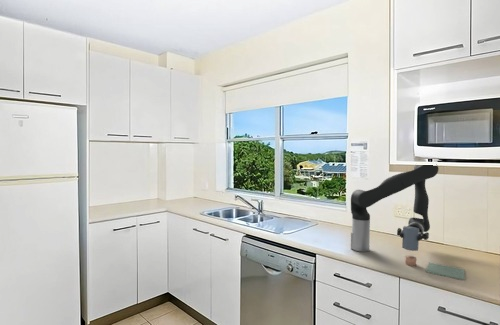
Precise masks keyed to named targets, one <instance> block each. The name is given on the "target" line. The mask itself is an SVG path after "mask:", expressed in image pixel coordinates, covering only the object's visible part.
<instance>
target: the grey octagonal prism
mask: <svg viewBox="0 0 500 325" xmlns="http://www.w3.org/2000/svg"><path fill="white" fill-rule="evenodd" d="M402 230H403V238H402V247H401V248H402V249H404V250H407V251H412V252H416V251H419V244H420V243H419V242H420V241H418V235H419V228H416V227H411V226H408V225H404V226H403V227H402Z"/></svg>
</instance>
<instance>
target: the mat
mask: <svg viewBox="0 0 500 325" xmlns="http://www.w3.org/2000/svg"><path fill="white" fill-rule="evenodd" d="M427 264H428V265H427V266H426V270H425V273H427V274H433V275H439V276H443V277H447V278H451V279H455V280H456V279H457V280H460V281H465V274H466V273H465V269H464V268H460V267H459V268H458V267H455V266H450V265H449V266H448V265H445V264H439V263H435V262H428V263H427Z"/></svg>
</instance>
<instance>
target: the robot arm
mask: <svg viewBox="0 0 500 325" xmlns="http://www.w3.org/2000/svg"><path fill="white" fill-rule="evenodd" d="M438 172H439V166H438V165H437V166H433V165H416V164H415V165H414V169H412V170H409V171H405V172H401V173H397V174H394V175H392V176H390V177H388V178H386V179H384V180H383V181H382V182H381V183H380V184H379V185H378V186H376V187H375V188H374V187H373V188H371V189H368V190H363V189H355V190H354V191H353V192H352V193H351V196H350V212H351V214H352V215H351V216H352V219H351V221H352V222H351V223H352V224H351V228H352V229H351V232H350V250H353V251H356V252H360V253H361V252H362V253H365V252H369V251H370V239H371V238H370V234H371V233H370V231H371V230H370V229H371V214H370V213H369V211H368V210H367V208H369V207H371V206H373V205H375V204H376V203H378V202H379V201H381V200H384V199H386V198H389V197H390V196H392V195H395V194H398V193H399V192H401V191H403V190H405V189H407V188H410V187H412V186H414V200H413V201H414V202H413V203H414V204H413V212H414V214H417V215H420V216H421V217H422V218H419V217H410V218H409V220H408V223H407V224H408V225H407V226H411V227H416V228H419V235H418V241H419V242H420V241H422V240H424V241H427V240H429V238H430V237H429V236H430V233H429V231H430V229H431V225H430V219H429V202H430V200H429V194H428V192H427V189H426V181H427V180H428V179H433V178H434V177H435V176H437V174H438ZM396 232H397V233H396V235H397V236H399V237H400V238H401V239H403V228H401V227H398V228H397V231H396Z"/></svg>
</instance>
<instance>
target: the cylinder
mask: <svg viewBox="0 0 500 325" xmlns="http://www.w3.org/2000/svg"><path fill="white" fill-rule="evenodd" d="M404 257H405V259H404V260H405V265H406V266H410V267H416V266H417V257H416V256H414V255H405V256H404Z"/></svg>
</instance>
